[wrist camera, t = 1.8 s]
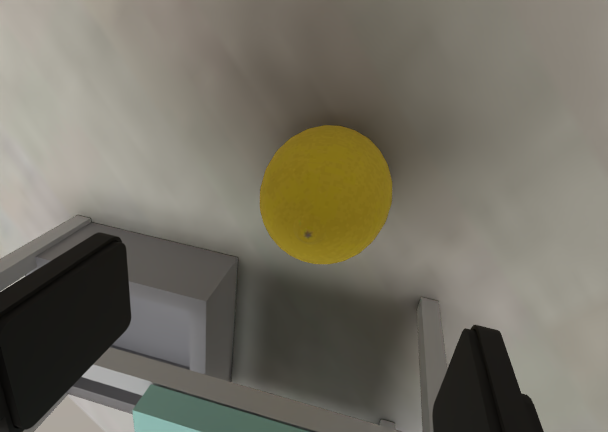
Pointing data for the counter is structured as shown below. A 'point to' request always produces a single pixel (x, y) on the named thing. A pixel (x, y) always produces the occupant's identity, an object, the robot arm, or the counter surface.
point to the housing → (197, 332)
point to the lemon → (326, 194)
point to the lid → (195, 415)
